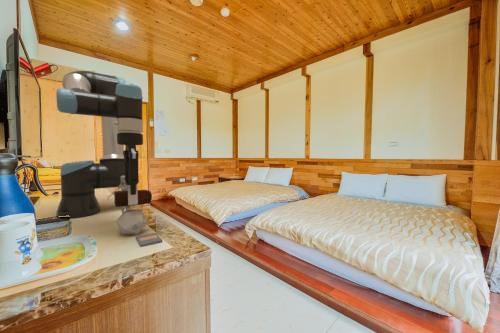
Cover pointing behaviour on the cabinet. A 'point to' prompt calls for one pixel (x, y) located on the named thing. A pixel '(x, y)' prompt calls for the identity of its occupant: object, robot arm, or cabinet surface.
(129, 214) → the die
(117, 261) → the cabinet surface
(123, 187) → the human figurine
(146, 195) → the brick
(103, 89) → the robot arm
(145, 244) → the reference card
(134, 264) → the cabinet surface
